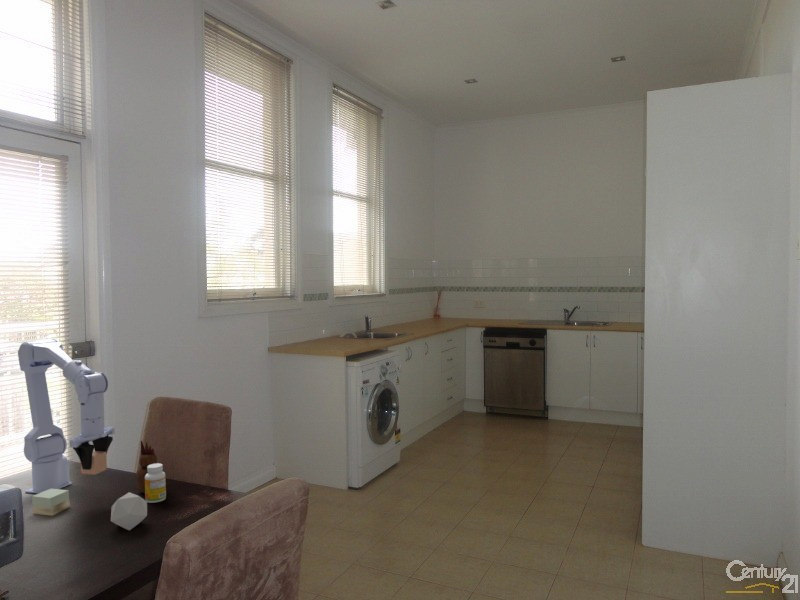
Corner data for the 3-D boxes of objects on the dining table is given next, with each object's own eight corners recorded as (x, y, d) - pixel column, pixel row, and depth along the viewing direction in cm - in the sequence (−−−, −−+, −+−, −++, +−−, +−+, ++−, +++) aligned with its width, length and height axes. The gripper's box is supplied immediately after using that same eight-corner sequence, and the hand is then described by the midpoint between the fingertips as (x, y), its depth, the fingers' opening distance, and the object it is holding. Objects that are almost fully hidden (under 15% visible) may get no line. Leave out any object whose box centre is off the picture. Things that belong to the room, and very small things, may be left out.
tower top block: (51, 497, 163) (51, 488, 163) (68, 499, 161) (68, 490, 161) (32, 505, 157) (32, 496, 157) (50, 507, 155) (49, 498, 155)
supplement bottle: (146, 497, 168) (145, 463, 168) (166, 495, 170) (165, 461, 169) (144, 504, 163) (143, 469, 163) (165, 501, 165) (164, 467, 164)
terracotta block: (93, 468, 167) (92, 450, 166) (106, 469, 165) (106, 451, 165) (80, 473, 162) (80, 455, 162) (94, 474, 161) (94, 456, 161)
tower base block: (51, 506, 163) (51, 497, 163) (69, 508, 162) (69, 499, 161) (33, 515, 157) (33, 505, 157) (52, 517, 156) (51, 507, 156)
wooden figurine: (132, 493, 171) (130, 442, 171) (147, 487, 177) (146, 437, 176) (150, 496, 169) (148, 444, 168) (165, 489, 174) (164, 439, 174)
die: (155, 527, 149) (154, 490, 154) (132, 522, 142) (131, 483, 147) (126, 537, 150) (126, 500, 155) (102, 533, 143) (103, 494, 148)
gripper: (84, 424, 155) (86, 475, 156) (123, 412, 169) (124, 459, 170) (62, 423, 157) (63, 473, 157) (102, 411, 171) (103, 457, 172)
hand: (93, 466), depth 164 cm, fingers closed on terracotta block, 4 cm apart
